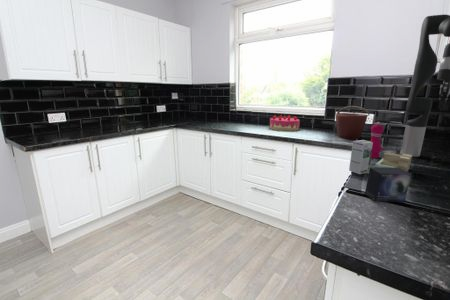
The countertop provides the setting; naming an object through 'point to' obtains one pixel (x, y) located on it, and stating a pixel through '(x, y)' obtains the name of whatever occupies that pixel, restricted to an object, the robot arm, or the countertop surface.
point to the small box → (387, 184)
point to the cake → (284, 123)
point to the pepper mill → (376, 139)
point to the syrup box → (360, 156)
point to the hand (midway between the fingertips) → (441, 108)
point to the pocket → (381, 164)
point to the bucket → (350, 123)
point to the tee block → (397, 161)
